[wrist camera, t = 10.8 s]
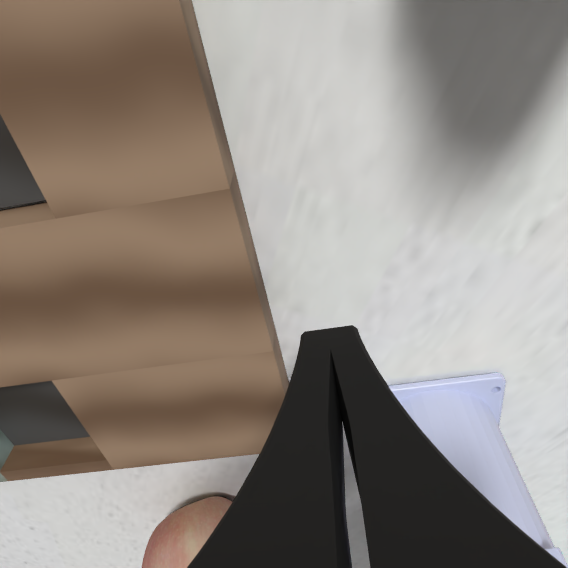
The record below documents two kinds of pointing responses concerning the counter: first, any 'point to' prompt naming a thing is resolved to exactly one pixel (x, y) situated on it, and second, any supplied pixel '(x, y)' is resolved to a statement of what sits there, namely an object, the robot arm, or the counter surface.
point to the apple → (184, 533)
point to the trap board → (123, 248)
